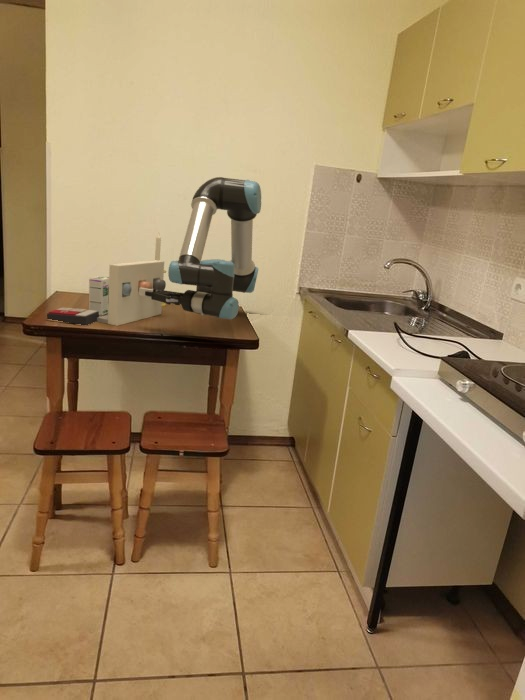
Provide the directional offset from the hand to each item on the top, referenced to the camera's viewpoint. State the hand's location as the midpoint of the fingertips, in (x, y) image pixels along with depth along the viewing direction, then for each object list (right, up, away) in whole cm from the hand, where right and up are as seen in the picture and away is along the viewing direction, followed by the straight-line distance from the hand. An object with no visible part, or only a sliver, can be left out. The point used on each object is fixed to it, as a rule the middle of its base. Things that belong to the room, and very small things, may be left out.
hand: (140, 291), depth 188 cm
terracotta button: (-1, +1, +11) cm, 11 cm away
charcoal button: (+3, +3, +20) cm, 21 cm away
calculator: (-25, -11, +2) cm, 28 cm away
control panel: (-7, -9, +16) cm, 19 cm away
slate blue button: (-7, -1, +3) cm, 8 cm away
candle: (-4, -1, +46) cm, 46 cm away
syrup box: (-20, -7, +16) cm, 27 cm away
